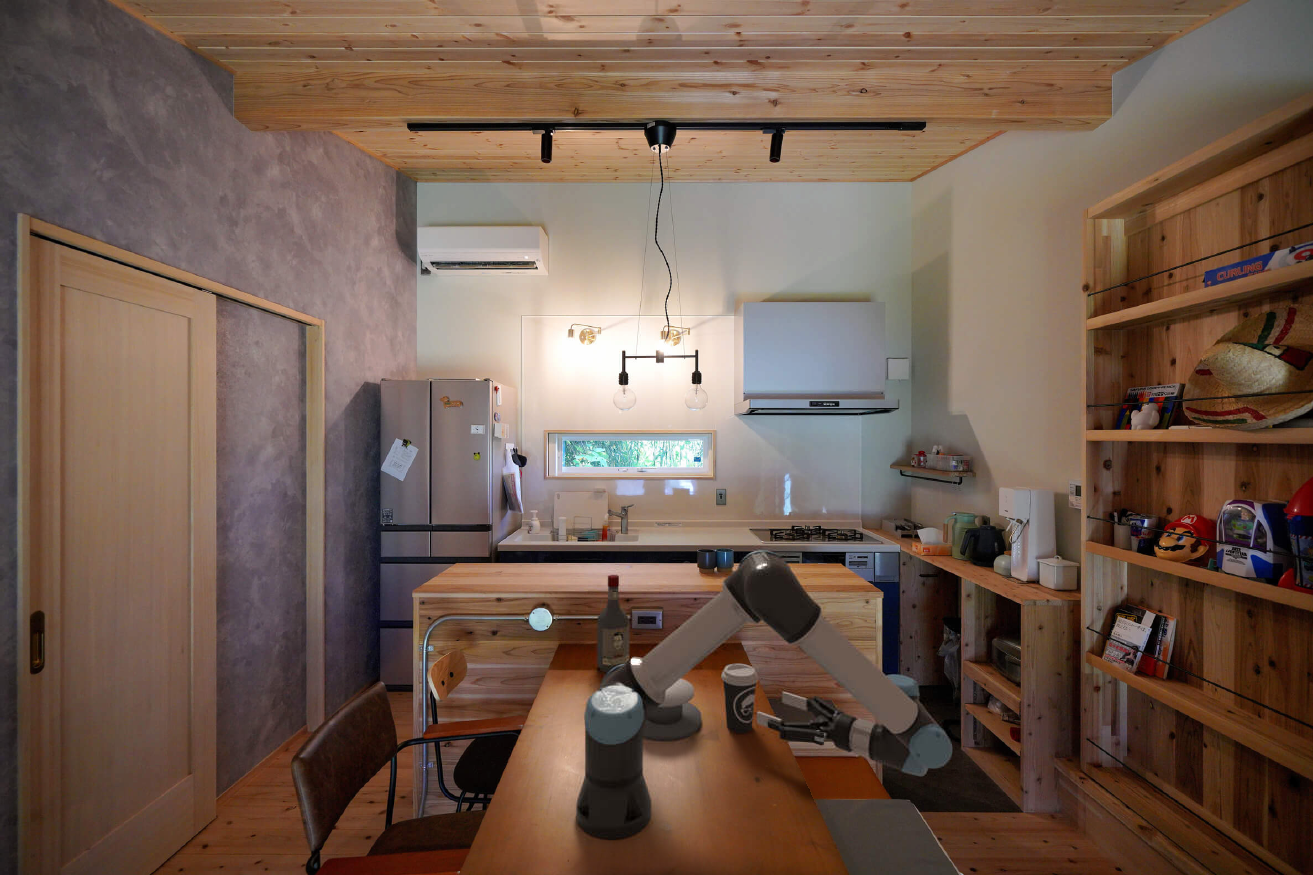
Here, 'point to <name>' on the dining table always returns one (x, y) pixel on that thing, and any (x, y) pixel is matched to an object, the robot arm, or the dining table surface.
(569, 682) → the dining table surface
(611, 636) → the liquor
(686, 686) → the cup stand
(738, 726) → the coffee cup
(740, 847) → the dining table surface
